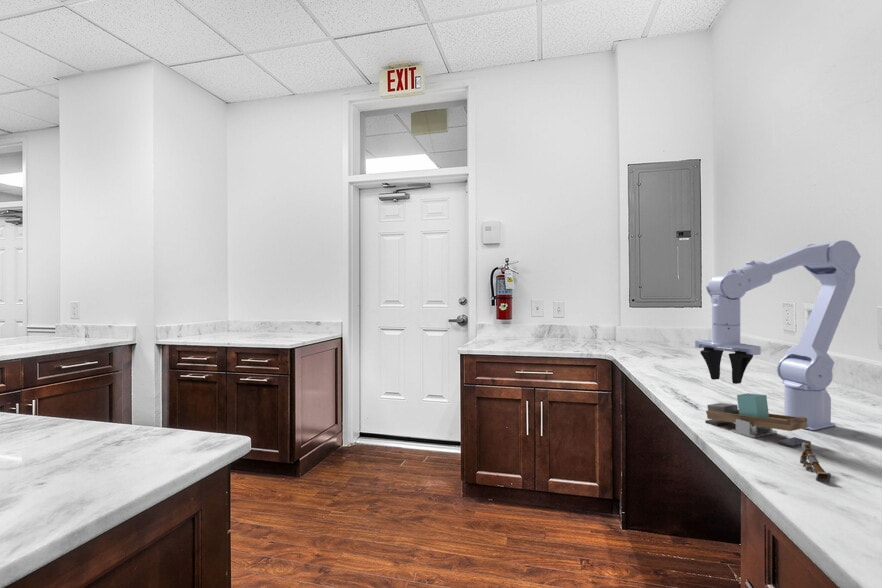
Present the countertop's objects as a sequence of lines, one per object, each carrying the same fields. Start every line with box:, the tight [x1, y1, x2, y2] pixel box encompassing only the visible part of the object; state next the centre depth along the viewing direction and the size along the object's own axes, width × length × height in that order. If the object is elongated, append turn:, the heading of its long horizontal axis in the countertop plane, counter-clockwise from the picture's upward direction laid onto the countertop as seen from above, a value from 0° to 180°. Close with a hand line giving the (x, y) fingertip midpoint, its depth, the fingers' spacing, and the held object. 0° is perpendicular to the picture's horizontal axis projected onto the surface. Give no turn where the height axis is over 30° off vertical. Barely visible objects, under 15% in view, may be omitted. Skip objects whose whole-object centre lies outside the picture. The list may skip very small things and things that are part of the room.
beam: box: [705, 402, 808, 432], centre depth 100 cm, size 6×18×4 cm, turn 24°
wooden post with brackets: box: [799, 442, 832, 482], centre depth 78 cm, size 2×8×4 cm, turn 162°
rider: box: [736, 393, 770, 418], centre depth 100 cm, size 4×4×5 cm
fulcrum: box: [705, 418, 812, 449], centre depth 100 cm, size 8×19×3 cm, turn 24°
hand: (725, 381), depth 106 cm, fingers open, 5 cm apart
